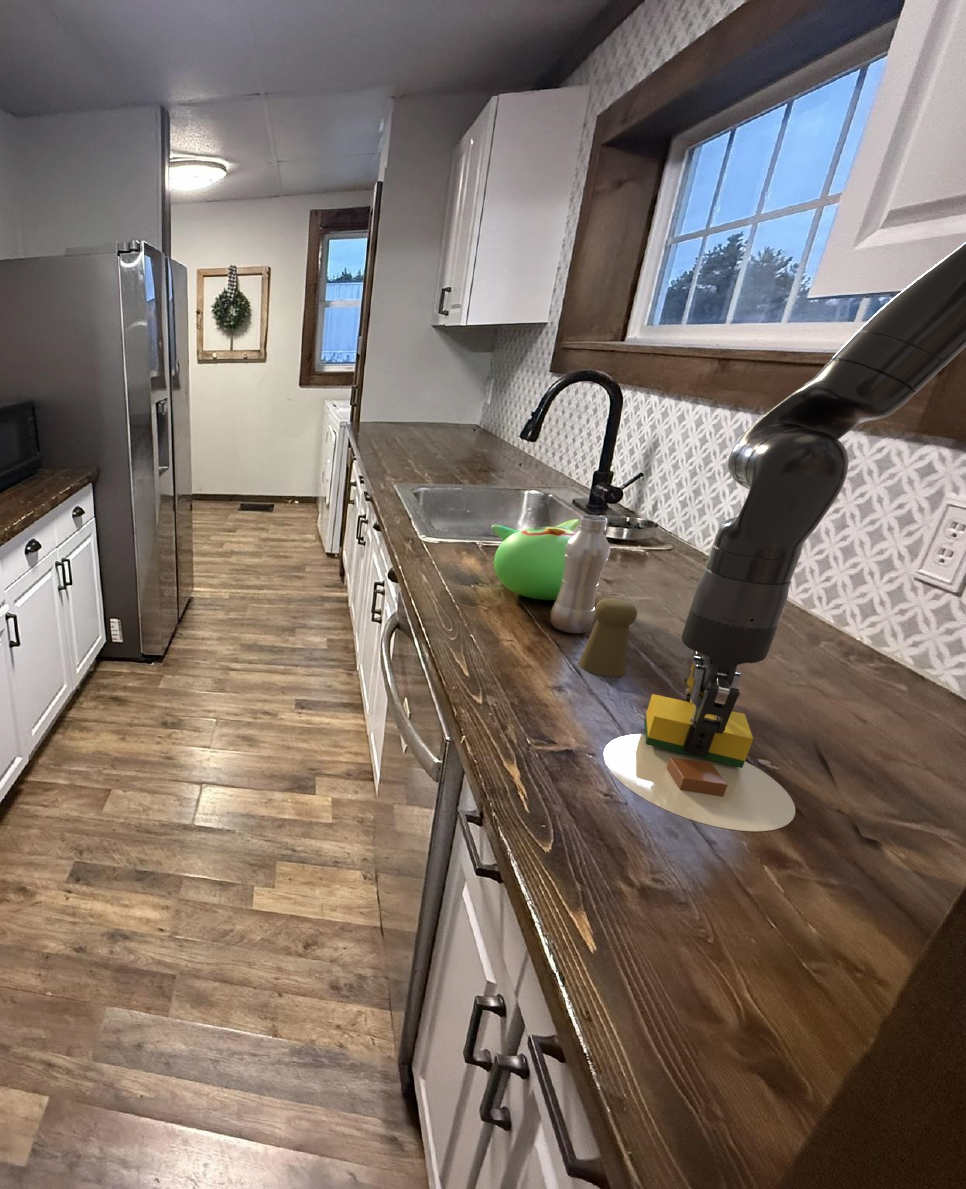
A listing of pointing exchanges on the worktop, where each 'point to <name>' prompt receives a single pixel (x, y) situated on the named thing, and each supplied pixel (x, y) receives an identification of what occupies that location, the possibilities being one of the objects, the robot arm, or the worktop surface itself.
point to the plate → (742, 807)
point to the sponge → (672, 723)
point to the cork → (609, 638)
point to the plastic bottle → (581, 576)
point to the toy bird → (533, 559)
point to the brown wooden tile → (696, 776)
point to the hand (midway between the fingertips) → (691, 738)
